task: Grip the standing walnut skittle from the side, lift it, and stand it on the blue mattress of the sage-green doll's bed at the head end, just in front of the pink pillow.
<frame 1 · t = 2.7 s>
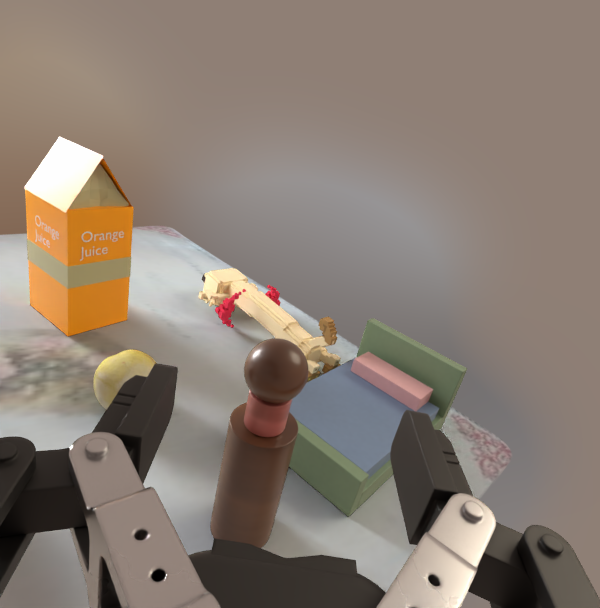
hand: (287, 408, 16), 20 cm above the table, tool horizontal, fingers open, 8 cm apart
orange juice: (79, 314, 56), on the table
bed: (352, 430, 47), on the table
skittle: (241, 525, 34), on the table
fruit: (121, 398, 44), on the table
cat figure: (257, 332, 61), on the table
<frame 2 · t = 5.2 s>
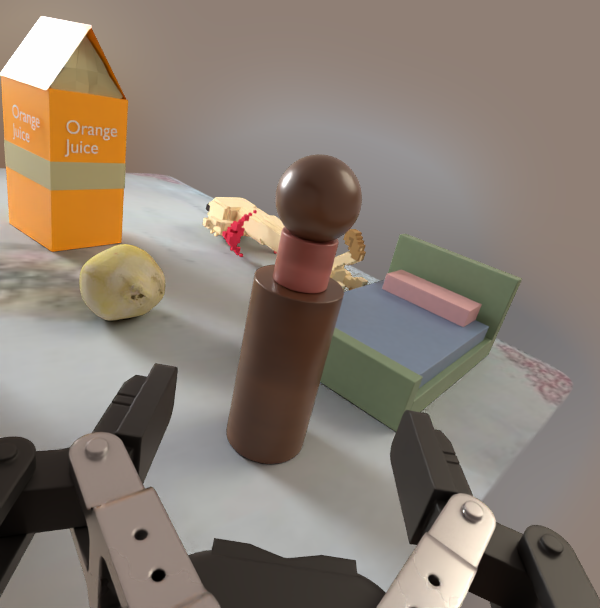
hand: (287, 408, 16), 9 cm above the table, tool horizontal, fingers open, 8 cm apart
orange juice: (66, 235, 49), on the table
bed: (388, 351, 40), on the table
skittle: (265, 435, 27), on the table
fruit: (113, 308, 37), on the table
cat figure: (270, 263, 54), on the table
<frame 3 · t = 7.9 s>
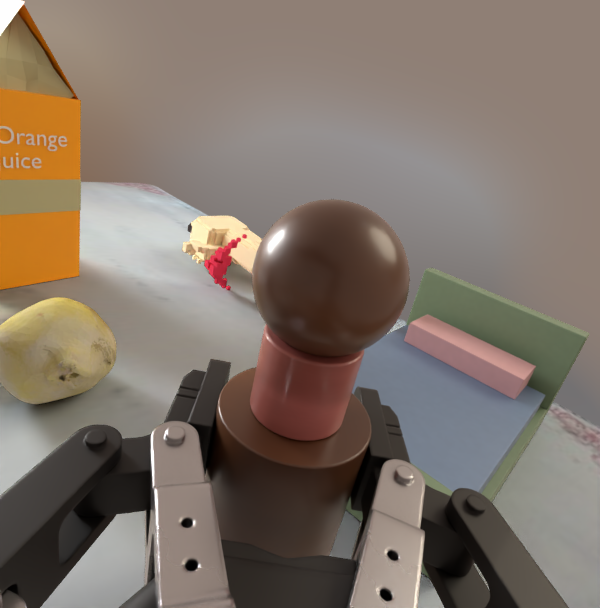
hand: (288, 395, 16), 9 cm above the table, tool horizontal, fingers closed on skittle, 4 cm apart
orange juice: (10, 266, 39), on the table
bed: (414, 429, 30), on the table
fruit: (48, 379, 27), on the table
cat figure: (263, 297, 45), on the table
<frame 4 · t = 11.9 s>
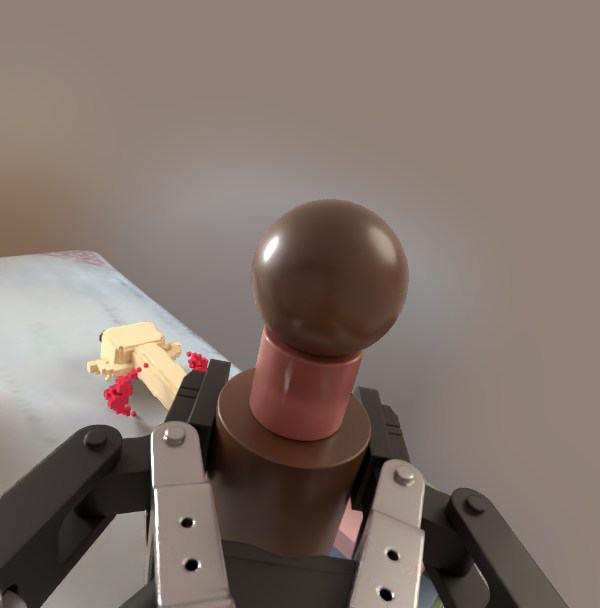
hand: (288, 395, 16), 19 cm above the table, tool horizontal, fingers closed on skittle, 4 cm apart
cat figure: (172, 421, 42), on the table
when the fingers open (12 cm above the table, at t = 15.7 s): skittle stays where it is, resting on bed.
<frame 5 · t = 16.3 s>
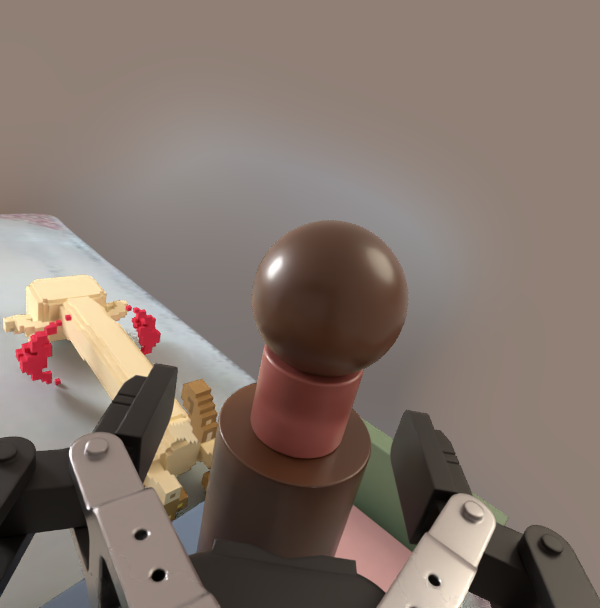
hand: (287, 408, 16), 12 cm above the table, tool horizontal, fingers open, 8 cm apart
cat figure: (107, 392, 34), on the table
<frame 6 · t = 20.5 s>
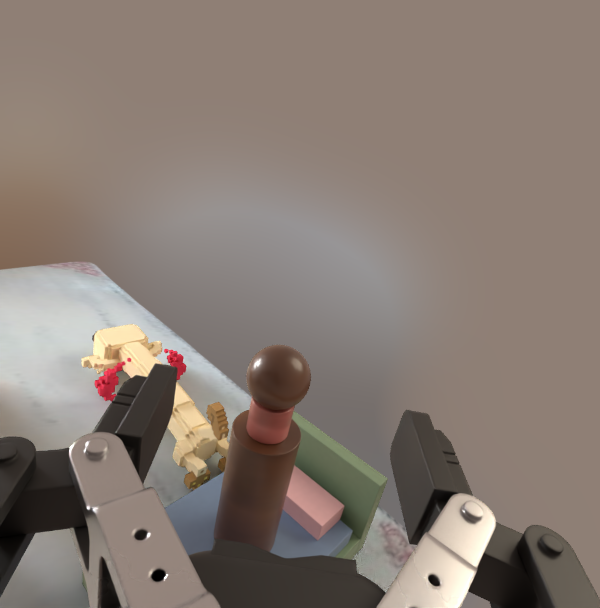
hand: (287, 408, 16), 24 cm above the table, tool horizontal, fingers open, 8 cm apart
bed: (236, 563, 35), on the table
skittle: (244, 534, 34), point 3 cm above the table, touching bed
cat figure: (152, 407, 50), on the table
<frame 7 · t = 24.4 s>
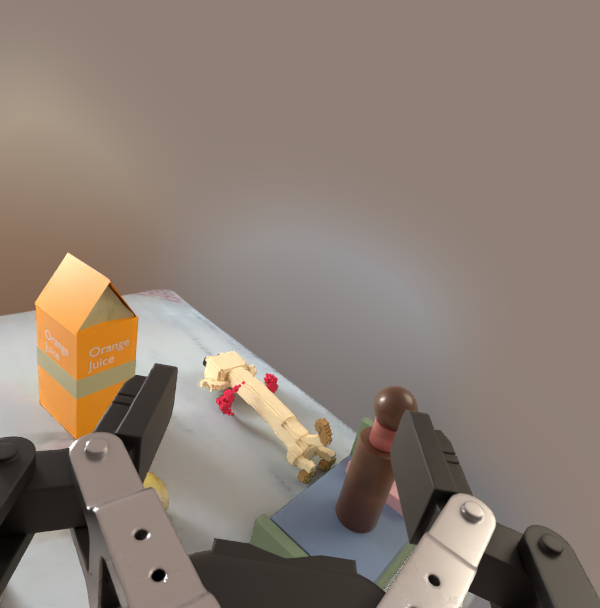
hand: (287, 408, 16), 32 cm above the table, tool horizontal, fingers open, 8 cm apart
orange juice: (86, 410, 59), on the table
bed: (347, 535, 50), on the table
skittle: (356, 514, 48), point 3 cm above the table, touching bed
fruit: (128, 513, 47), on the table
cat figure: (256, 419, 64), on the table
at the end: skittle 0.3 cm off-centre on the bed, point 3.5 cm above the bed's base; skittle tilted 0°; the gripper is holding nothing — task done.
